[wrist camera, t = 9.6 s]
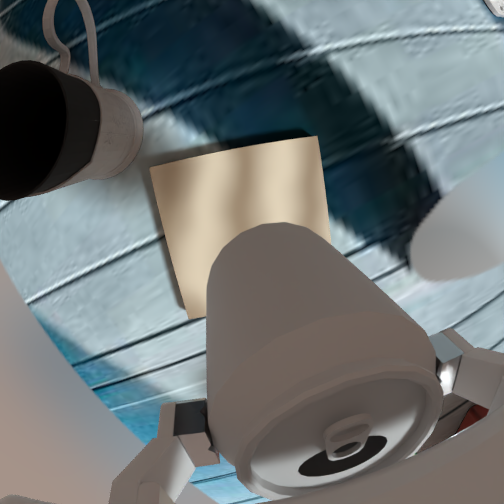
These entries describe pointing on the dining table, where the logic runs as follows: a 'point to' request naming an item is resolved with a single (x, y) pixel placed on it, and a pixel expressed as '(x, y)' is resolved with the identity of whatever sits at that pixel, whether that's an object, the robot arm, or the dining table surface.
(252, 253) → the can
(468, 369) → the robot arm
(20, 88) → the grey mug
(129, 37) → the dining table surface
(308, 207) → the birch board
